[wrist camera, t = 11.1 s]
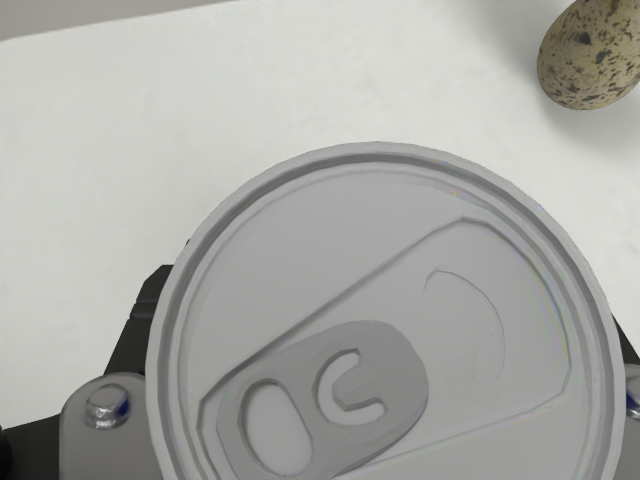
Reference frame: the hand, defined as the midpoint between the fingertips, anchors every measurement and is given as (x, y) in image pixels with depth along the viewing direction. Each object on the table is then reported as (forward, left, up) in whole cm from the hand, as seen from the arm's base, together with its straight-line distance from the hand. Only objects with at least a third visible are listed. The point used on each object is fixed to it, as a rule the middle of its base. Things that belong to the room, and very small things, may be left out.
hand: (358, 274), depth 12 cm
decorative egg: (+15, +16, -25) cm, 33 cm away
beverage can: (0, -2, -9) cm, 10 cm away
